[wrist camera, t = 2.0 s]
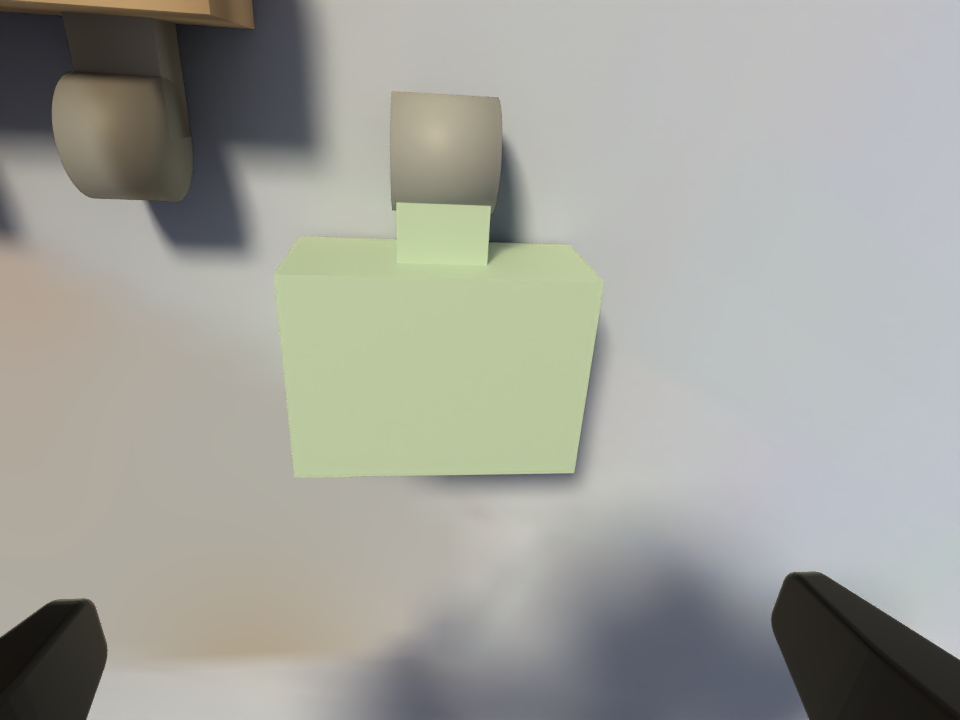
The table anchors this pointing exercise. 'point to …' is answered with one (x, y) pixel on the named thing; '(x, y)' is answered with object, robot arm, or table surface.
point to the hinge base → (127, 92)
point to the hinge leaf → (436, 321)
